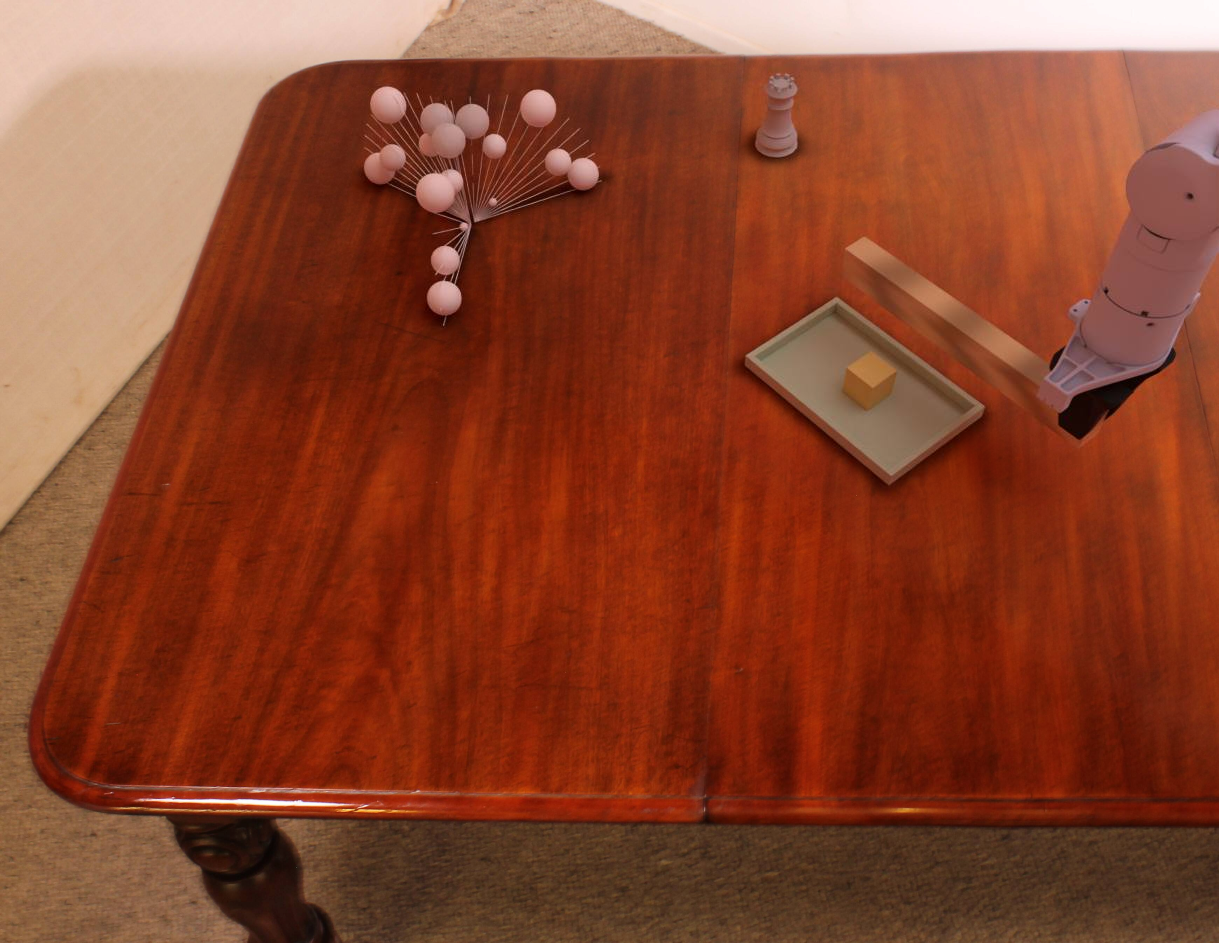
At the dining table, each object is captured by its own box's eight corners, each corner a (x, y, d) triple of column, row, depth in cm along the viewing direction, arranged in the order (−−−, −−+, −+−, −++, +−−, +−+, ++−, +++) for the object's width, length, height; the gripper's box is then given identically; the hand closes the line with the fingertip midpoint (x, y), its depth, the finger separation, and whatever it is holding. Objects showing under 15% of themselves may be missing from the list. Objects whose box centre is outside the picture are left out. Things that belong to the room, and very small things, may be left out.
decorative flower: (314, 320, 102) (269, 201, 90) (370, 170, 115) (336, 50, 104) (575, 331, 99) (562, 210, 88) (602, 177, 112) (593, 54, 101)
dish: (981, 418, 91) (985, 406, 89) (888, 487, 87) (891, 476, 86) (834, 308, 99) (836, 296, 98) (744, 367, 95) (745, 355, 94)
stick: (1098, 433, 82) (1111, 406, 79) (1077, 449, 81) (1090, 422, 79) (859, 263, 94) (864, 235, 92) (840, 276, 94) (844, 248, 91)
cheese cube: (892, 393, 92) (897, 370, 90) (867, 411, 91) (872, 388, 89) (866, 374, 94) (871, 350, 91) (841, 390, 93) (846, 367, 90)
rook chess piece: (752, 135, 115) (757, 68, 109) (794, 133, 115) (801, 66, 109) (756, 161, 113) (761, 94, 106) (799, 159, 112) (806, 92, 106)
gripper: (1162, 208, 74) (1100, 344, 85) (1023, 305, 69) (977, 437, 80) (1255, 261, 71) (1178, 396, 82) (1116, 367, 66) (1054, 496, 77)
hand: (1083, 420), depth 81 cm, fingers closed on stick, 2 cm apart
